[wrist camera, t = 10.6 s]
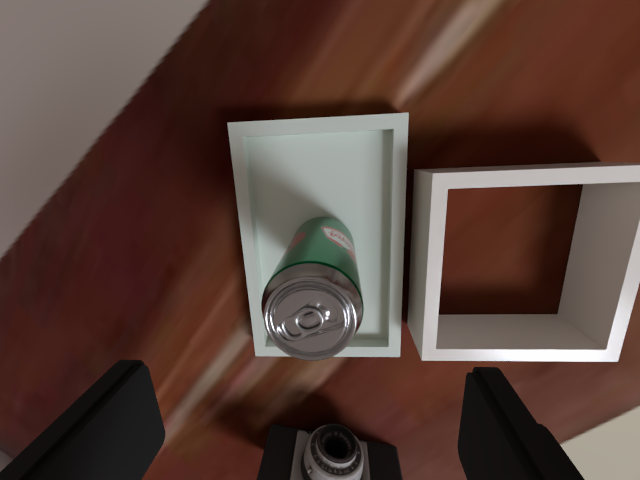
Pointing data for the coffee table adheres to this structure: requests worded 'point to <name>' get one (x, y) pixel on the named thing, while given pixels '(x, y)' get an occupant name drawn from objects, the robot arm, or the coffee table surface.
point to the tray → (326, 209)
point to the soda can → (315, 292)
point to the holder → (580, 279)
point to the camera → (326, 456)
